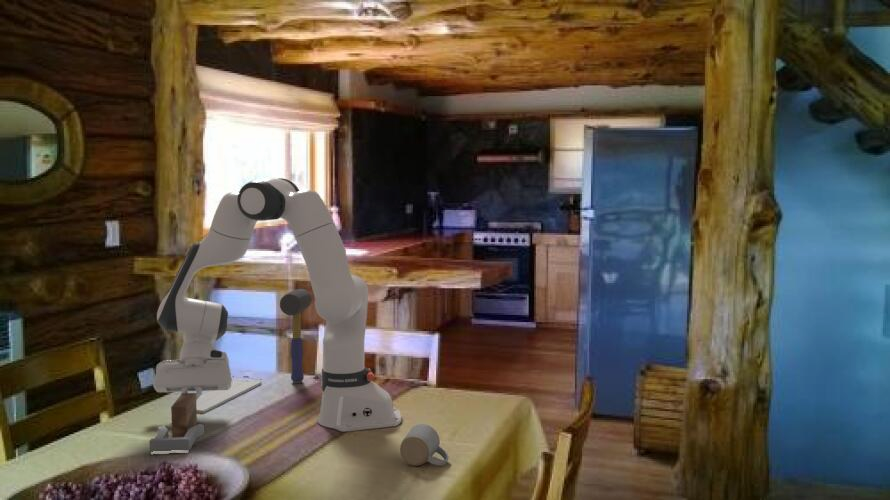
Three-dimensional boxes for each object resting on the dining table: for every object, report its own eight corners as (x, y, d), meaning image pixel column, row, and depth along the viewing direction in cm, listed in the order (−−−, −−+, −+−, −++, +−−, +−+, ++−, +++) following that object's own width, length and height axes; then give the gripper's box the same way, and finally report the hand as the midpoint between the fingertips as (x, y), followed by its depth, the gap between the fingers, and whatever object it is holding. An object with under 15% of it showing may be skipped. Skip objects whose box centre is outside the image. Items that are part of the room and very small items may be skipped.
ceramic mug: (397, 466, 164) (398, 433, 164) (409, 453, 172) (409, 421, 171) (442, 471, 162) (443, 438, 161) (452, 458, 169) (452, 426, 169)
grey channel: (204, 433, 185) (204, 420, 185) (193, 453, 172) (193, 438, 172) (158, 435, 184) (158, 422, 184) (144, 455, 170) (143, 441, 170)
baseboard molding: (166, 412, 205) (203, 416, 202) (166, 402, 205) (203, 405, 201) (228, 383, 235) (261, 386, 231) (228, 374, 234) (261, 377, 231)
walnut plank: (196, 422, 194) (195, 392, 194) (187, 437, 183) (186, 406, 182) (182, 422, 194) (181, 393, 193) (172, 438, 182) (171, 407, 181)
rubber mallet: (302, 388, 227) (300, 293, 224) (279, 387, 228) (277, 292, 225) (314, 377, 239) (313, 287, 236) (292, 377, 240) (291, 287, 237)
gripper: (155, 354, 199) (146, 399, 191) (231, 352, 202) (227, 397, 193) (159, 366, 204) (151, 411, 195) (234, 364, 207) (230, 408, 198)
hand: (189, 404), depth 194 cm, fingers closed, pressing on walnut plank
